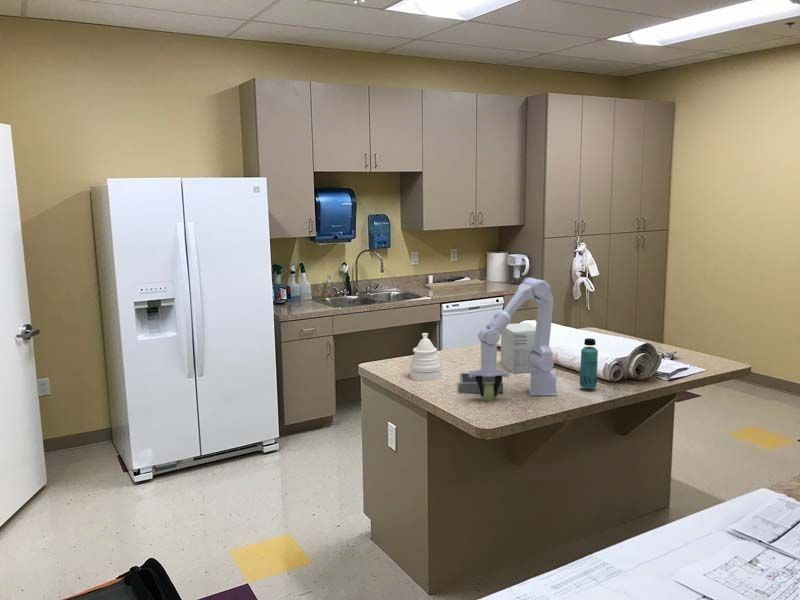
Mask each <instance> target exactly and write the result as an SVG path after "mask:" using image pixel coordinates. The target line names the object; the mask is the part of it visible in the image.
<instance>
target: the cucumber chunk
mask: <svg viewBox="0 0 800 600" xmlns="http://www.w3.org/2000/svg"><path fill="white" fill-rule="evenodd" d="M495 399H496V396H495V384H494V383H492V382H484V383H483V396H482V400H483V401H485V402H493V400H494V401H495Z"/></svg>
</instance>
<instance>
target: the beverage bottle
mask: <svg viewBox="0 0 800 600" xmlns="http://www.w3.org/2000/svg"><path fill="white" fill-rule="evenodd" d="M594 346H596V338H592V337H591V338H584V347H583V348H581V350H580V367H579V368H580V369H579V370H580V372H579V373H580V374H579V385H580V387H581V388H584V389H594V388H596V387H597V385H598V358H599V356H598V355H599V354H598V353H599V350H598V349H597V348H596V347H594Z"/></svg>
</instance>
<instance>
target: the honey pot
mask: <svg viewBox="0 0 800 600" xmlns="http://www.w3.org/2000/svg"><path fill="white" fill-rule="evenodd" d="M421 336H422V339H420V341H419V342H418V343H417V346H416V347H413V349H412V352H413V353H414V354H413V356H412V359H411V362H410V368H409V371H410V372H409V373H410V379H412V380H414V379H415V380H414V381H418V380H421V381H420V382H432V380H433V381H437V379H438V380H440V379H441V378H442V364H441V362H440V359H439V356H438V354H437V351H438V348H437V347H435V346H434V344H433V343H432V341H431V339H429V338H428V337H429V332H423V333H421Z"/></svg>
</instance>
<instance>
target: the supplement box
mask: <svg viewBox="0 0 800 600" xmlns="http://www.w3.org/2000/svg"><path fill="white" fill-rule="evenodd" d="M535 332H536V326H534V325H532V324H530V323H529V322H525V323H509V324H508V325H507V327H506V328H505V329H504V330H503V331H502V333H501V335H500V364H501V365H503V367H505V368H506V369H507V371H509V372H510V373H512V374H519V373H531V368H530V364H529V363H528V361H527V358H528V355H529V353H530V349H531V347H532V346H533V345H534V342H535Z"/></svg>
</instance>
